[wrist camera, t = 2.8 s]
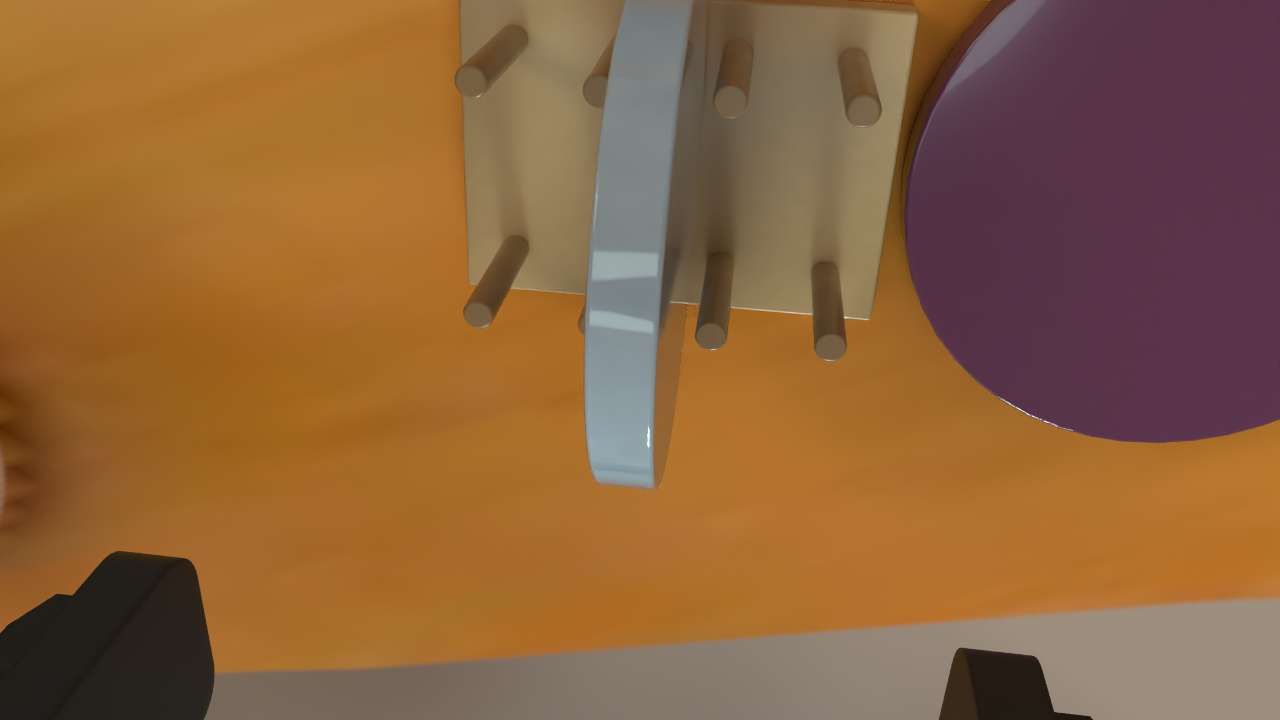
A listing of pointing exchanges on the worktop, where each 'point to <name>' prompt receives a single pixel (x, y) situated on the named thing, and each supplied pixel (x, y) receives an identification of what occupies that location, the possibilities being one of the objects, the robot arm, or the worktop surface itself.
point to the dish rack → (729, 156)
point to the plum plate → (1106, 213)
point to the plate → (642, 239)
